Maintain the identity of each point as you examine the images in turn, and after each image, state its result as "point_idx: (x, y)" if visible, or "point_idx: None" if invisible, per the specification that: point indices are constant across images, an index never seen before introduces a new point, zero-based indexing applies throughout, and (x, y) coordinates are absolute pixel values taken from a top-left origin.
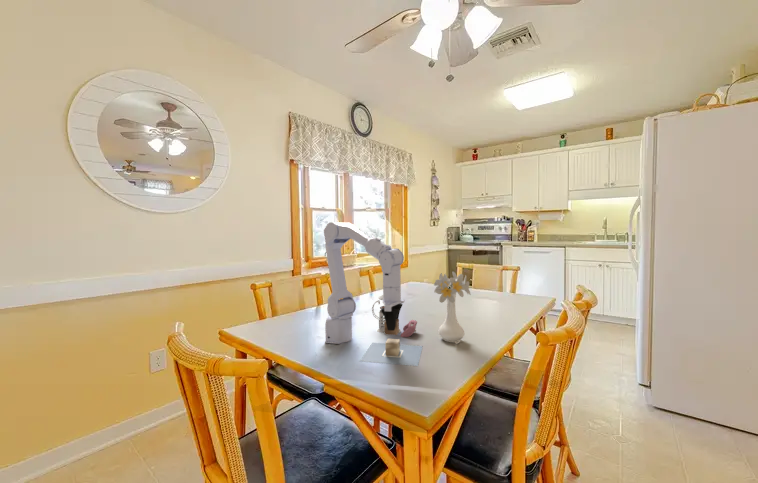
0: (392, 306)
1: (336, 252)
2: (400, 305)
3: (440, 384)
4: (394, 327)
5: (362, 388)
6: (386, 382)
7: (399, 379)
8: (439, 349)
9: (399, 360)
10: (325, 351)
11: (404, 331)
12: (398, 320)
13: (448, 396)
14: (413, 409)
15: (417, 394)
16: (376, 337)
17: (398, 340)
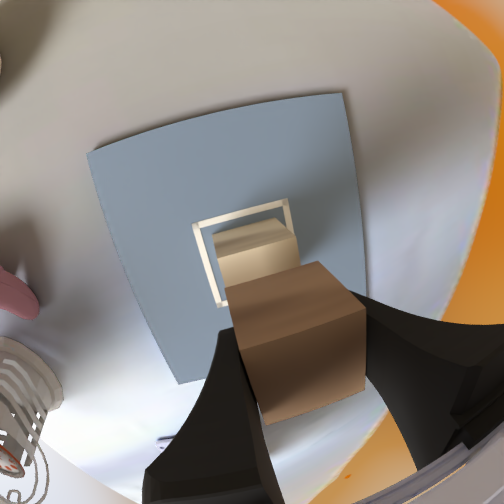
0: (475, 443)
1: None
2: (262, 484)
3: (402, 15)
4: (364, 297)
5: (473, 225)
6: (446, 177)
7: (425, 143)
8: (71, 74)
9: (319, 189)
10: (301, 436)
11: (17, 311)
12: (265, 337)
13: (438, 5)
14: (497, 86)
15: (463, 79)
16: (100, 394)
17: (239, 256)
